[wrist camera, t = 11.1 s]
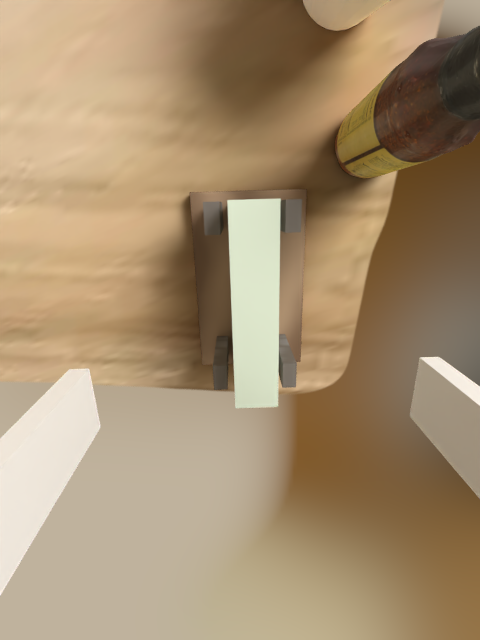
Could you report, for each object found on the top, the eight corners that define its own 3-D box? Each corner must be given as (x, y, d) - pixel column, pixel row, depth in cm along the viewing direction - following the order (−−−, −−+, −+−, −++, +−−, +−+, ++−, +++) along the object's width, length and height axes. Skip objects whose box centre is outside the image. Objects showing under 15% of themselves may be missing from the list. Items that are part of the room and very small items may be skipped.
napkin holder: (203, 358, 38) (195, 399, 30) (191, 192, 32) (177, 188, 24) (297, 355, 38) (315, 395, 30) (303, 189, 32) (326, 183, 24)
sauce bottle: (409, 150, 31) (679, 61, 12) (353, 193, 32) (520, 174, 13) (373, 86, 29) (625, -133, 10) (316, 134, 30) (449, 17, 12)
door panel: (235, 355, 36) (235, 408, 27) (229, 202, 31) (227, 200, 21) (266, 354, 36) (278, 406, 27) (266, 201, 31) (280, 198, 21)
